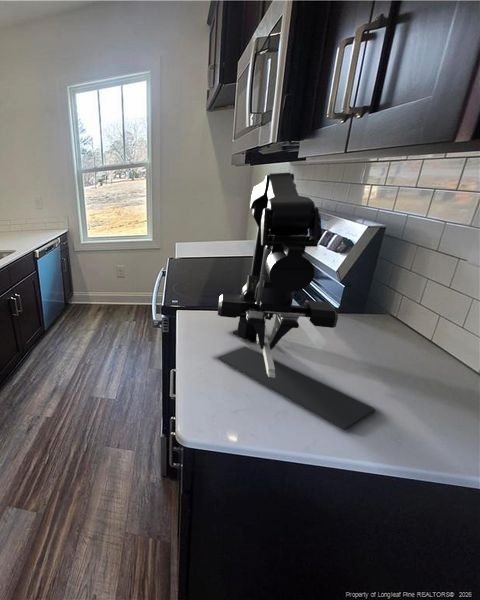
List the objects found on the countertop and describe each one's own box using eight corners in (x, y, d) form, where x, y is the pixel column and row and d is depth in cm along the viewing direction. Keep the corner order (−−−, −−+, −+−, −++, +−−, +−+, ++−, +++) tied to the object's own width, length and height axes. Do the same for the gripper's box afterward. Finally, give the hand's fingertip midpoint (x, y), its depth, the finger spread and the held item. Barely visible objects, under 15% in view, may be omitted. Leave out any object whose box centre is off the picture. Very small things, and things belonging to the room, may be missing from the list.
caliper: (255, 341, 72) (259, 315, 71) (261, 342, 72) (264, 315, 71) (268, 378, 54) (273, 344, 53) (275, 379, 54) (280, 345, 52)
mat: (244, 347, 84) (245, 346, 84) (374, 410, 60) (375, 408, 60) (217, 358, 80) (217, 357, 80) (344, 430, 56) (345, 428, 56)
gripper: (329, 264, 60) (312, 336, 66) (222, 260, 67) (215, 325, 73) (348, 282, 51) (327, 365, 56) (222, 275, 58) (214, 349, 64)
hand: (265, 348), depth 63 cm, fingers closed on caliper, 1 cm apart
